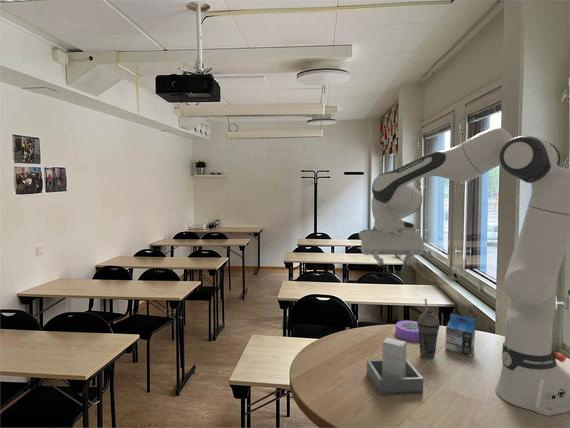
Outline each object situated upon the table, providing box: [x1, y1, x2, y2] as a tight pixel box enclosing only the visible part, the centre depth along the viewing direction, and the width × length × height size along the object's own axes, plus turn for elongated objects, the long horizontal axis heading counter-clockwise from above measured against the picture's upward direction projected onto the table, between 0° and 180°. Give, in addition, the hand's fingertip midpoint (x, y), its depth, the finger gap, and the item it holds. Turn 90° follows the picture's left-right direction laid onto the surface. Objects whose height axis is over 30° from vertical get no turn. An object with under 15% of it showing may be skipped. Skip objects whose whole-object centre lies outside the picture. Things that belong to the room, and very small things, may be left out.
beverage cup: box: [416, 298, 441, 360], centre depth 138 cm, size 7×7×20 cm
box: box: [366, 358, 425, 397], centre depth 120 cm, size 13×13×4 cm
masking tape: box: [395, 320, 419, 342], centre depth 158 cm, size 12×12×4 cm
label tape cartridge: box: [445, 313, 476, 357], centre depth 142 cm, size 9×4×12 cm, turn 49°
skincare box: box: [381, 337, 407, 379], centre depth 120 cm, size 6×4×12 cm
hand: (395, 264), depth 129 cm, fingers open, 8 cm apart
